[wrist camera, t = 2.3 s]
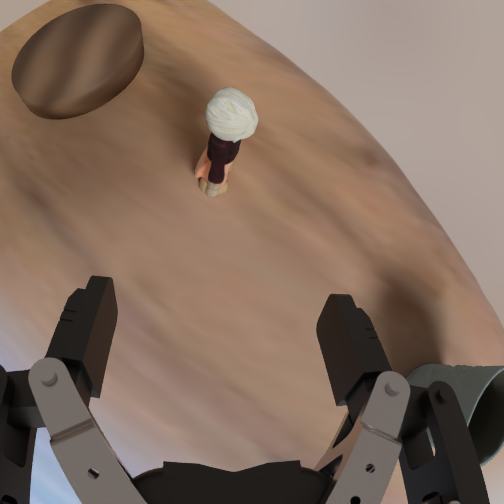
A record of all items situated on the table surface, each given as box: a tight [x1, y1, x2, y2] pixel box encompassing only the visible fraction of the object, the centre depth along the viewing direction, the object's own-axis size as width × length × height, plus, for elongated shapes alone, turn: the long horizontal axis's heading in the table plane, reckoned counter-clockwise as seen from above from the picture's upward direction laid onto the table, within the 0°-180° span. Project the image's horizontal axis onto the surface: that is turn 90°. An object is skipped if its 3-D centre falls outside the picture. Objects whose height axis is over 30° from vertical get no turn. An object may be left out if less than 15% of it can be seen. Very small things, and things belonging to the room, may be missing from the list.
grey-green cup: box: [406, 364, 504, 467], centre depth 24 cm, size 10×10×12 cm
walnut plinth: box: [12, 4, 144, 119], centre depth 26 cm, size 16×16×4 cm
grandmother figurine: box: [195, 87, 258, 197], centre depth 23 cm, size 8×4×13 cm, turn 178°
